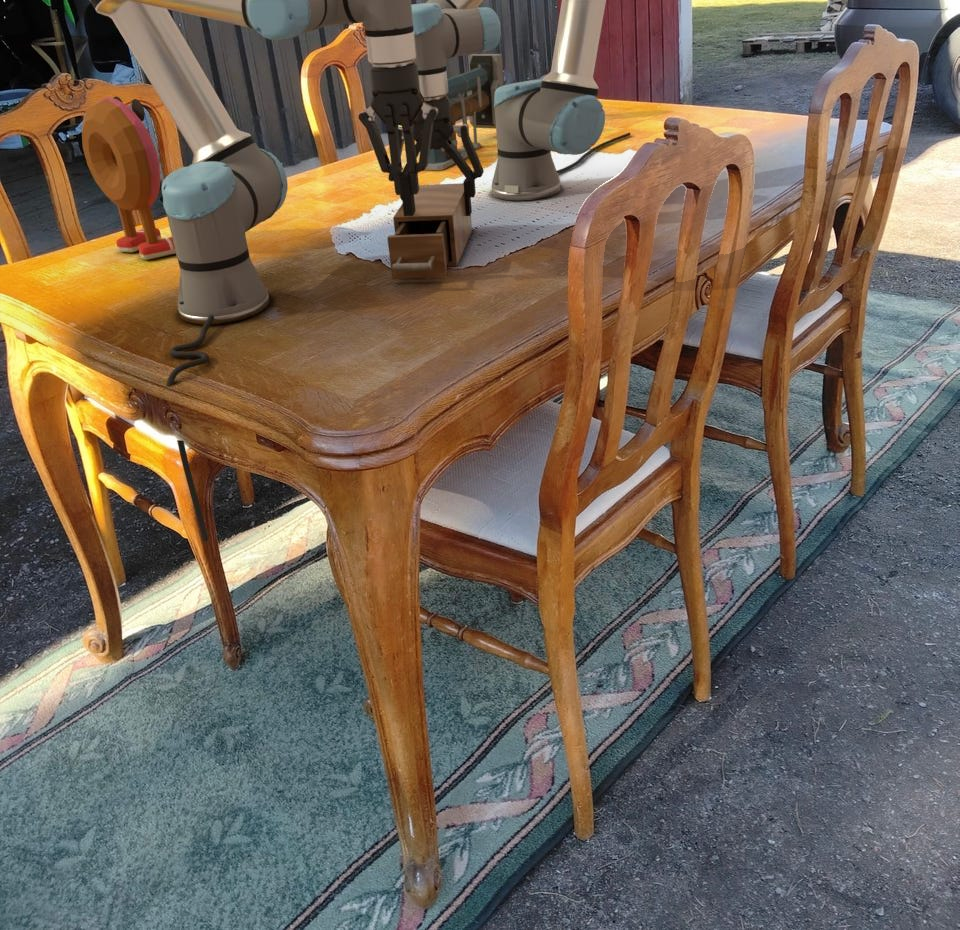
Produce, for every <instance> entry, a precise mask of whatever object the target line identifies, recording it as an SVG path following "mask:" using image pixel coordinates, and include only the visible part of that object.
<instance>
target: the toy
mask: <svg viewBox="0 0 960 930" xmlns="http://www.w3.org/2000/svg"><path fill="white" fill-rule="evenodd" d="M145 115H146V113H145V109H144V106H143V104H142V102H140V100H139V99H137V98H133V99H132V101H131V107H130V106H128V105H126V104H125V103H124V102H123V101H122V99H121V98H120V97H119V96H117V95H115V96H114V97H110V96H106V97H104V98H102V99H100V100H98V101H95V103H92V104H91V105H89V106H88V107H86V110H85V113H84V116H83V119H82V124H81V141H82V142H81V143H82V150H83V153H84V157H85V161H86V165H87V167H88V169H89V172H90V174H91V176H92V178H93V179H94V182H95V183H96V184H97V186H98V187H99V188H100V190H101V191H102V192H103V194H104V195H105V196H106V197H107V198H108V199H109V200H110V201H111V202H112V203H113V204H114V205H116V206H117V210H118V213H119V217H120V221H121V225H122V230H123V233H124V236H122V237H120V238H118V239H116V243H115V244H116V247H117V250H118V252H121V253H135V252H139V256H140V257H141V259H143V260H152V259H158V258H162V257H167V256H172V255H176V251H175V247H174V242H173V238H172V236H170V237H165V238H162V234H161V231H160V229H159V228H158V227H156V224H155V219H154V215H153V211H152V208H151V207H152V205H154V203H155V202H156V200H157V198H158V195H159V193H160V190H161V189H160V188H161V166H160V165H161V164H160V160H159V156H158V152H157V149H156V146H155V143H154V141H153V138H152V136H151V133H150V132H149V130H148V128H147V127H146V125H145V124H144V121H145V119H146V117H145ZM132 211H133V212H134V211H138V214H139V219H140V222H141V226H142V228H139V229H136V225H135V220H134V215H133V212H132Z"/></svg>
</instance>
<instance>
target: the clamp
mask: <svg viewBox="0 0 960 930" xmlns="http://www.w3.org/2000/svg"><path fill="white" fill-rule="evenodd" d="M467 59H468V71H465V72H462V73H460V74H457V75H454V76H451V77H449V78H447V81H448V93H447V94H446V95H445V96H447V97H448V98H449V100H451V99H457V100H455V101H452V102H449V104H450V116H451V121H452V123H453V125H456V123H457V122H458V121H461V120H462V125H463V124H464V123H467V124H468V119H469V124H470V125H471V126H472V128H473V129H472V131H473V141H472V144H473V146H474V148H475V150H476V149H479V148H481V147H482V144H481V143H480V142H478V131H477V129H494V130H496V122H495V109H494V95H495V91H496V89H497V88H499V87H501V86H504V85H505V84H504V71H503V69H504V68H503V67H504V66H503V54H502V53H474V54H468V55H467ZM467 117H468V119H467ZM450 140H451V141H452V142H453V144H454V146H455V148H456V149H457V150H458V152H459V153H460V154H461V156H462V157H463V159H464V160H465V159H467V158H469V157H468V155H467V153H466V150H465V148H464V145H463V144H462V145H461V148H458V140H457V133H456V132H453V133H452V135H451V137H450ZM417 163H419V161H417ZM453 165H456V164H455V162H454V161H453V160H452V158H451V157H450V156H449V154H448V153H447V152H446V151H445V150H444V149H443V148H441V149H439V150H436V149H430V152H429V160H428V166H427V167H426V169H425V170H427V171H428V170H430V171H442V170H445V169H447V168H449V167H451V166H453Z"/></svg>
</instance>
